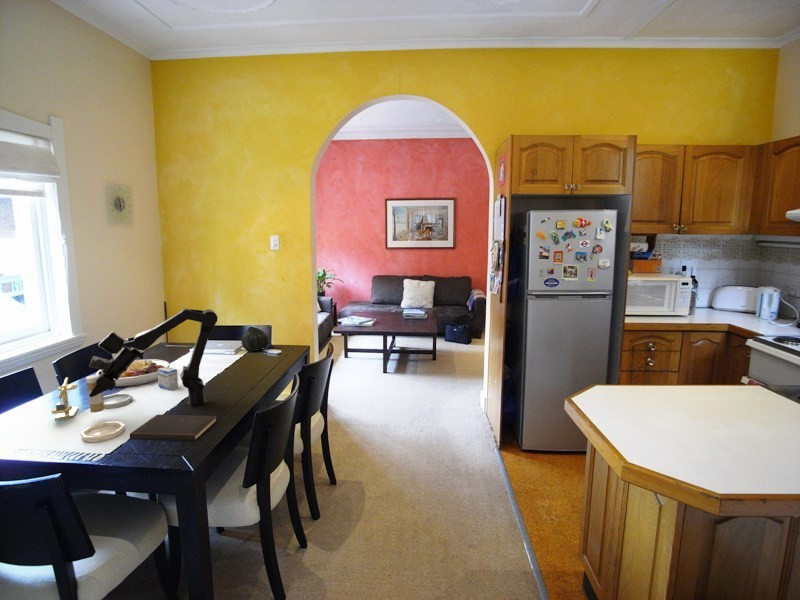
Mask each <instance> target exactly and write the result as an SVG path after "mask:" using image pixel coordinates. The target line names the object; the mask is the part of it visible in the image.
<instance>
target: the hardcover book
mask: <svg viewBox="0 0 800 600" xmlns="http://www.w3.org/2000/svg"><path fill="white" fill-rule="evenodd" d="M217 417H218V415H192V414H190V415H187V414H186V415H185V414H156V415H154V416H153V417H151V418H150V419H149V420H147V421H145V422H144V423H143V424H141V425H139V426H138V427H137V428H136V429H134V430H133V431H131V432H130V433H129V439H134V440H164V441H165V440H166V441H167V440H168V441H196V439H198V437H200V436H201V435H202V434H203V433H204V432H205V431H207V430H208V428H210V427H211V426H212V425H213V424H214V423H215V422H216V421H217Z"/></svg>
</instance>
